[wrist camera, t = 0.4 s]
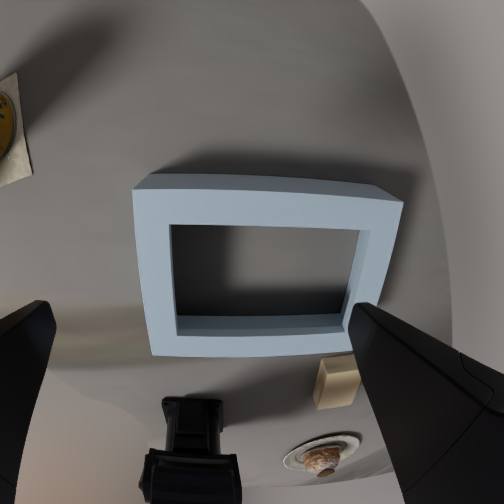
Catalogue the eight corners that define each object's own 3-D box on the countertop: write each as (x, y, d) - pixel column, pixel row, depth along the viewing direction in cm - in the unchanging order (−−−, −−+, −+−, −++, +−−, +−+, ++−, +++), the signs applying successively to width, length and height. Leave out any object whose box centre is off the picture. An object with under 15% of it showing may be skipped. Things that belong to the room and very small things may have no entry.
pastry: (296, 432, 35) (302, 460, 31) (370, 425, 37) (380, 449, 33) (273, 467, 40) (277, 490, 36) (339, 461, 42) (345, 482, 38)
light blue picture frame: (344, 317, 26) (361, 349, 22) (160, 319, 24) (152, 355, 21) (373, 184, 21) (403, 202, 17) (149, 173, 19) (132, 189, 15)
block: (344, 388, 32) (351, 404, 29) (311, 393, 31) (317, 410, 29) (357, 351, 29) (365, 368, 27) (320, 356, 29) (327, 374, 26)
